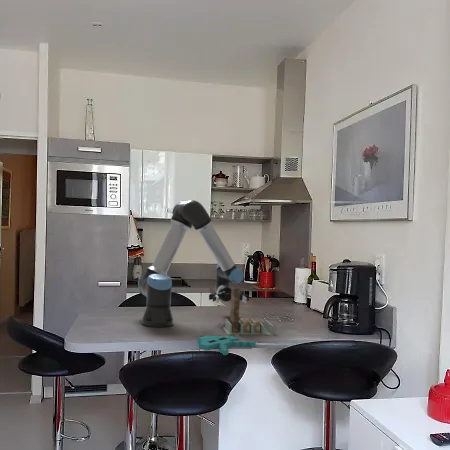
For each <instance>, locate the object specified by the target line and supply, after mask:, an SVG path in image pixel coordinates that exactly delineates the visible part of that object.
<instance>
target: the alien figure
mask: <svg viewBox="0 0 450 450" xmlns="http://www.w3.org/2000/svg"><path fill="white" fill-rule="evenodd" d="M197 343H198V344H197V345H198V348H199V349H202V350H205V351H211V350H213V349H217V348H218V350H219V352H220V353H222V354H223V356H227V355H229V352H230V351H229V349H228V348H229V347H236V348H237V347H243V348H245V347H250V348H255V347H256V341H253V340H250V341H249V340H248V341H245V340H242V341H240V340H239V337H236V336H233V335H228V336H226V335H220V336H219V335H204V336H200V337H198V338H197ZM222 354H221V355H222Z"/></svg>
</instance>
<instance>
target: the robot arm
mask: <svg viewBox="0 0 450 450" xmlns="http://www.w3.org/2000/svg"><path fill="white" fill-rule="evenodd" d="M212 222H213V221H212V218H211V217H210V214H209V213H208V211H207V210H206V208H205V207H204V206H203V205H202V203H201V202H199V201H198V200H193V199H192V200H181V201H179V202H177V203H175V205H174V206H173V208H172V216H171V217H170V224H171V225H170V227H169V228H168V231H167V233H166V235H165V237H164V239H163V241H162V244H161V245H160V248H159V250H158V252H157V254H156V256H155V258H154V259H153V262H152V264H151V266H148V267H146V270H145V272H144V274H142V275H141V276H140V277H139V279H138V282H137V287H138V291H139V292H140V294H142V295H143V296H144V297H146V303H145V310H144V313H143V315H142V318H141V324H142V326H143V325H144V327H145V326H146V327H150V328H151V327H153V328H166V327H171V326H173V325H174V317H173V313H172V310H171V302H172V286H173V281H172V277H171V276H169V275H168V271H169V269H170V267H171V265H172V263H173V261H174V258H175V256H176V255H177V252H178V249H179V248H180V245H181V243H182V241H183V239H184V237H185V235H186V233H187V232H188V231H190V230H191V229H192V227H193V229H194V230H195V231H197V232H198V233H199V234H200V236H201V238H202V240H203V241H204V243H205V244H206V246H207V247H208V249H209V251H210V253H211V254H212V256H213V257H214V259H215V260H216V262H217V264H216V272H215V273H216V276H215V287H214V291H213V292H212V293H209V295H208V300H209V301H211V300H212V302H216V303H217V304H218V303H219V300H221V301H222V302H231V291H232V288H230V283H233V284H239V283H241V282H242V281H243V280H244V277H245V276H244V272H243V270H242V269H241V268H238V266H237V265H236V263H235V261H234V260H233V258H232V256H231V255H230V253H229V251H228V249H227V247H226V246H225V244H224V243H223V241H222V239H221V237H220V236H219V234H218V233H217V231H216V229H215V227H214V225H213V224H212ZM240 301H241V302H242V303H244V304H247V302H249V301H250V295H249V294H245V293H241V292H240Z"/></svg>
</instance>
